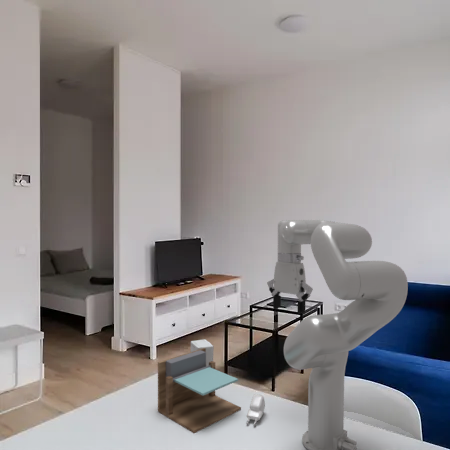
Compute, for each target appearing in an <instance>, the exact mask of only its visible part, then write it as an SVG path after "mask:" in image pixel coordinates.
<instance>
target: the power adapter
mask: <svg viewBox="0 0 450 450" xmlns="http://www.w3.org/2000/svg"><path fill="white" fill-rule="evenodd" d="M265 402H266V401H265V397H264V395H262V394H257V393H255V394H253V396H252V399H251V401H250V404H249V409H248V411H247V415H246V418H247V421H246V426H248V425H249V424H250V421H251V420H253V421H254V422H253V425H252V426H253V427H256V426H257V421H260V420H261V418H263V416H264V415H263V414H264V411H265V408H266V403H265Z"/></svg>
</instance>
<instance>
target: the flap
mask: <svg viewBox="0 0 450 450" xmlns="http://www.w3.org/2000/svg"><path fill="white" fill-rule="evenodd" d="M188 353H189V354H187V353H185V354H186V355H183V354H182V355H183V356H180V355H179V356H180V357H177V356H175V357H176V358H174V357H172V358H173V359H170V358H169V359H170V360H167V359H166V360H167V361H166V377H168V376H171V377H173V382H176V383H178V384H180V385H182V386H184V387H186V388H188V389H190V390H193V391H195V392H197V393H199V394H201V395H206V394H208V393H210V392H213V391H215V392H216V391H217V390H220V389H222V388H224V387H227V386H229V385H231V384H233V383H236V382H238V381H239V378H237V377H235V376H232V375H229V374H227V373H224V372H223V371H220V370H218V369H216V368H215V369H213V368H211V366H210V365H209V366H206V352H204V351H201V350H199V351H196V352H193V353H190V352H188Z"/></svg>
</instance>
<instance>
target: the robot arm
mask: <svg viewBox="0 0 450 450" xmlns="http://www.w3.org/2000/svg"><path fill="white" fill-rule="evenodd" d="M372 239H373V238H372V235H371V234H370V232H369V231H368V230H367V229H366V228H365V227H363V226H361V225H358V224H353V223H345V222H335V221H331V220H323V219H322V220H321V219H296V220H295V219H293V220H287V219H286V220H281V221H279V222H278V223H277V261H276V262H275V266H274V274H273V278H272V279H271V280H269V281H267V287H268V291H270V293H271V297H272V300H273V301H272V305H273V310H276V309H280V308H281V304H282V303H281V302H282V301H281V300H282V299H281V298H282V297H281V295H280V294H281V293H283V294H289V295H295V296H296V297H297V299H298V301H297V314H298V315H301V314H304V313H305V311H306V301H308V299H309V298H310V297H311V294H312V292H313V291H314V290H313V287H312V286H310V285H309V284H307V279H306V271H305V265H304V263H303V262H302V261H303V260H304V259H305V257H304V255H302V245H310V247H311V252H312V254H313V257H314V260H315V261H316V264H317V265H318V268H319V270H320V272H321V274H322V276H323V278H324V281H325V283H326V286H327V287H328V289H329V291H330V293H331V294H332V295H333V296H334V297H335V298H337V299H339V300H343V301H351V302H350V303H349V304H348V305H346V306H345V308H343V310H340V311H339V312H336V313H327V314H314V315H310V316H307V317H305V318H303V319H302V320H301V321H300V322H299V323H298V324H297V325H296V326H295V328H293V329H292V331H291V332H290V333H289V334H288V335H287V337H285V338H286V339H285V340H284V344H283V356H284V360H285V361H286V363H287V364H288V365H289V367H291V368H293V369H294V370H308V369H311V371H310V373H309V377H308V385H307V386H308V391H307V393H308V396H307V397H308V399H307V400H308V401H307V403H308V405H307V406H308V407H307V408H308V409H307V410H308V412H307V413H308V414H307V415H308V416H307V430H306V431H305V432H304V433H303V434H302V439H301V440H302V442H301V443H302V444H303V446H304V447H305V449H306V450H357V441H356V440H354V439H352V438H349V436H348V430H346V429H344V426H345V425H344V424H345V423H344V422H345V421H344V420H345V413H344V412H345V377H346V376H345V373H346V366H347V362H348V358H349V357H348V356H349V351H350V352H351V351H352V350H354V349H356V348H357V347H359V346H360V345H361V344H362V343H363V342H364V341H366V340H367V339H369V338H370V337H371V336H372V335H374V334H375V333H376V332H377V331H379V330H380V329H382V328H383V327H385V326H386V325H388V324H389V323H390V322H391V321H392V320H394V319H395V318H396V317H397V315H399V314H400V312H401V311H402V309H403V307H404V305H405V303H406V300H407V296H408V287H409V285H408V284H409V283H408V278H407V275H406V273H405V271H404V270H403V269H402V267H401V266H399V265H398V264H396V263H393V262H389V261H385V260H362V261H356V260H355V261H346V260H347V259H348V260H349V259H350V260H353V259H358V258H361V257H363V256H365V255H366V254H367V253H369V251H370V250H371V248H372V246H373V245H372V244H373V241H372Z"/></svg>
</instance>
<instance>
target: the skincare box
mask: <svg viewBox="0 0 450 450" xmlns="http://www.w3.org/2000/svg"><path fill="white" fill-rule="evenodd" d="M203 348H206V366H209V362H211V361H213V362H214V344H213V345H212V343H211V342H210V341H208V340H207V339H204V338H203V339H198V340H191V341H190V352H193V351H196V350H199V349H203ZM190 352H189V353H190Z"/></svg>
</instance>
